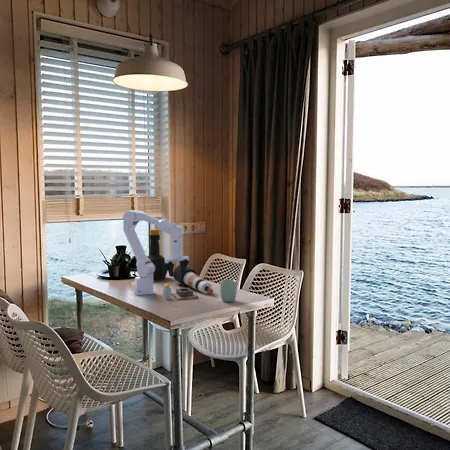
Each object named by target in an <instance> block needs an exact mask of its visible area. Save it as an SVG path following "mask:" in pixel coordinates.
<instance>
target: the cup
mask: <svg viewBox="0 0 450 450" xmlns="http://www.w3.org/2000/svg"><path fill="white" fill-rule="evenodd" d="M219 285H220V288H219V289H220V290H219V291H220V292H219V293H220V299H221V301H222V302H225V303H233V302H234V301H235V300H236V297H237V291H238V288H237V286H238V283H237V280H235V279H221V280H220V284H219Z"/></svg>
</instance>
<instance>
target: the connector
mask: <svg viewBox="0 0 450 450" xmlns="http://www.w3.org/2000/svg"><path fill="white" fill-rule="evenodd" d="M162 288H163V289H162V296H163V299H164V300H172V295H171V293H172V287H170V284H169V283H165V284H164V286H163V287H162Z"/></svg>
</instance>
